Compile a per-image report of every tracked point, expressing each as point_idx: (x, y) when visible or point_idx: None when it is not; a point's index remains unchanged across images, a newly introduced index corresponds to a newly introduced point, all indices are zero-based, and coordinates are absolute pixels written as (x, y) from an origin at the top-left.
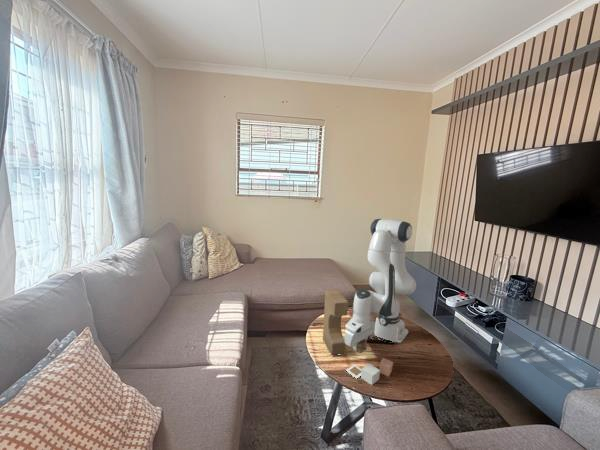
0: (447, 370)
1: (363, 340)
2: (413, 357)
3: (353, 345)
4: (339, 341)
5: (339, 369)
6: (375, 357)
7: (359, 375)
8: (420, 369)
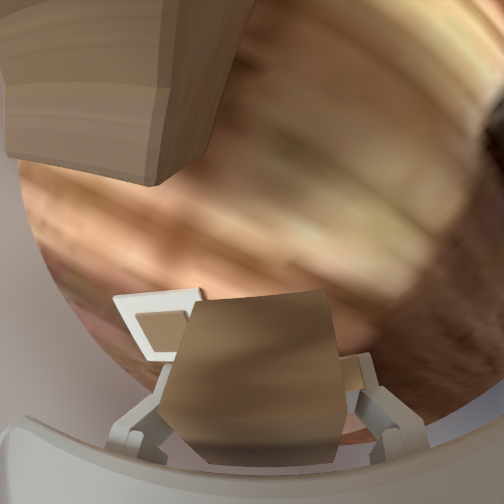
0: (466, 404)
1: (305, 457)
2: (487, 351)
3: (148, 402)
4: (70, 148)
5: (90, 269)
6: (395, 297)
7: (173, 357)
8: (435, 396)
